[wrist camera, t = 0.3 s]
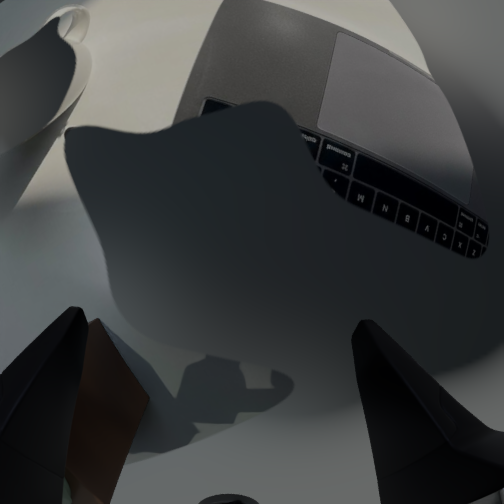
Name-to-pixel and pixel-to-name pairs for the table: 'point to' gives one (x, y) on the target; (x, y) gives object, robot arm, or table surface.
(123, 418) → the stand
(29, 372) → the robot arm
